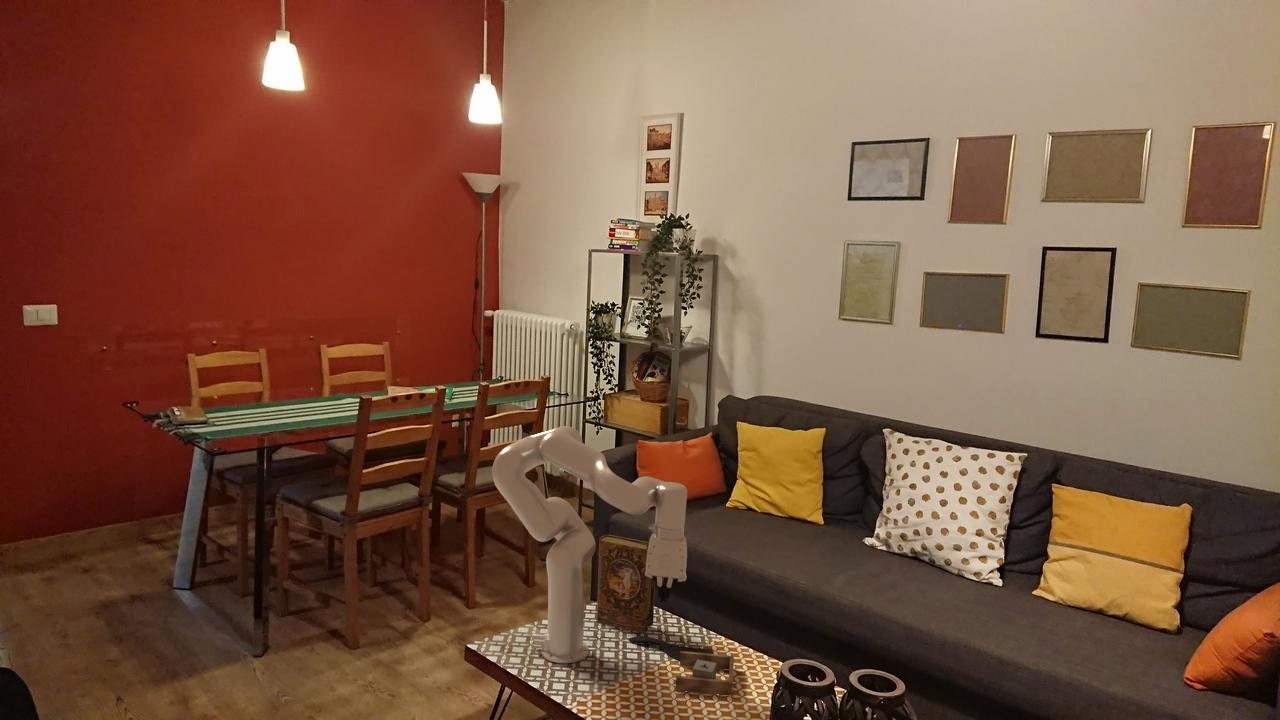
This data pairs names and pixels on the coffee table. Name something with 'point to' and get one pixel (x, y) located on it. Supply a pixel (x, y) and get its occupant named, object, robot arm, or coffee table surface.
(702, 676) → the dice cube
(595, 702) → the coffee table surface
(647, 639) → the hairbrush
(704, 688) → the box
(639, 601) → the book
